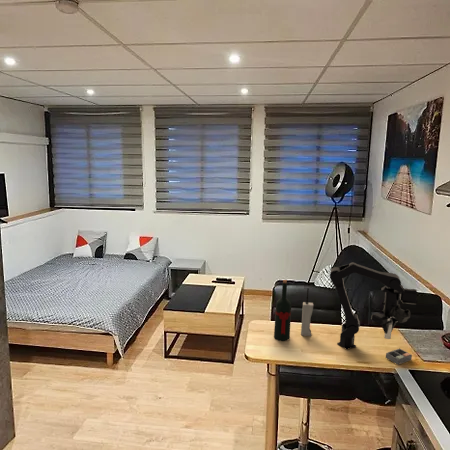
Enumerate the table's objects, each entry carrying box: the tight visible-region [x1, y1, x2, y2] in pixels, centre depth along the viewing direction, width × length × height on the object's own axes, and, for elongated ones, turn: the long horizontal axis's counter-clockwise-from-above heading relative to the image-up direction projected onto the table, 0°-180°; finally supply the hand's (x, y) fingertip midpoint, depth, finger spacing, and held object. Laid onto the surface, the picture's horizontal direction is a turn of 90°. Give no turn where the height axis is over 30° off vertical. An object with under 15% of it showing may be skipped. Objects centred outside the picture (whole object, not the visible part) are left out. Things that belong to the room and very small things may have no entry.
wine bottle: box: [273, 279, 292, 342], centre depth 190 cm, size 8×10×30 cm
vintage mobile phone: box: [300, 287, 314, 337], centre depth 196 cm, size 4×5×25 cm
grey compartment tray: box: [385, 348, 413, 366], centre depth 176 cm, size 9×6×3 cm
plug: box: [383, 319, 393, 340], centre depth 180 cm, size 3×3×9 cm
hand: (387, 332), depth 180 cm, fingers closed on plug, 3 cm apart
